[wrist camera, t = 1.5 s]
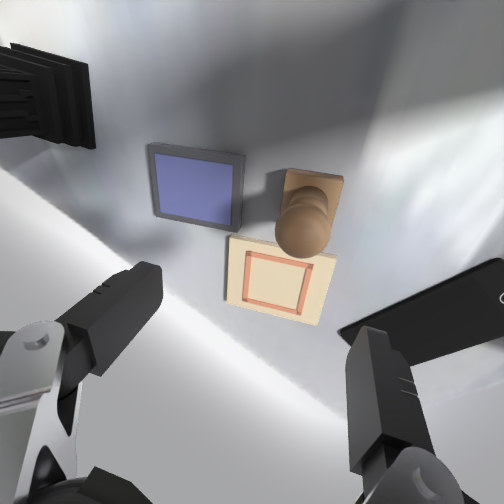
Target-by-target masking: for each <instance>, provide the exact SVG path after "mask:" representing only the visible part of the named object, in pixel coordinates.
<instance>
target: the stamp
mask: <svg viewBox="0 0 504 504" xmlns="http://www.w3.org/2000/svg"><path fill="white" fill-rule="evenodd" d="M343 183H344V178H343V176H340V175H333V174H327V173H320V172H313V171H306V170H299V169H293V168H291V169H290V168H289V169H288V171H287V172H286V177H285V184H284V191H283V197H282V204H281V211H280V216H279V218H278V220H277V222H276V226H275V237H276V241H277V243H278V245H279V247H280V248H281V249H282V250H283V251H284V252H285V253H286V254H288V255H289V256H291V257H294V258H299V259H306V258H311V257H314V256H316V255H318V254H319V253H320V252H322V251H323V250H324V249H325V247H326V246H327V244H328V242H329V240H330V236H331V228H332V224H333V220H334V217H335V213H336V209H337V205H338V202H339V198H340V194H341V190H342V187H343Z"/></svg>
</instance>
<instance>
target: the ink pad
mask: <svg viewBox="0 0 504 504" xmlns="http://www.w3.org/2000/svg"><path fill="white" fill-rule="evenodd" d="M148 151H149V160H150V168H151V177H152V186H153V194H154V203H155V212H156V217H160V218H165V219H170V220H175V221H180V222H185V223H190V224H195V225H200V226H205V227H210V228H215V229H220V230H225V231H230V232H236V233H238V231H239V230H240V228H241V214H242V199H243V184H244V169H245V155H239V154H232V153H225V152H218V151H211V150H204V149H197V148H190V147H183V146H176V145H169V144H162V143H155V142H154V143H150V144H148Z"/></svg>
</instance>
